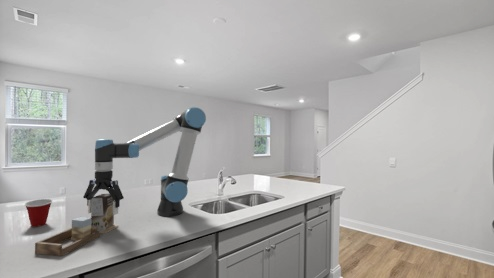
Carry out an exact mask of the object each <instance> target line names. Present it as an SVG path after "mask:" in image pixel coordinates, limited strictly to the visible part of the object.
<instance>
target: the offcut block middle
mask: <svg viewBox="0 0 494 278" xmlns="http://www.w3.org/2000/svg"><path fill="white" fill-rule="evenodd" d="M71 228H72V233H73V234H82V235H84V234H86V233H88V232H90V231H91V225H89V226H86V227H84V228H79V227H72V226H71Z"/></svg>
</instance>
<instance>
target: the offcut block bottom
mask: <svg viewBox="0 0 494 278" xmlns="http://www.w3.org/2000/svg"><path fill="white" fill-rule="evenodd" d="M90 234H91V231H90V232H88V233H86V234H84V235H82V234H73V233H72V238H70V240H71V241H74V242H76V241H78V240H80V239H82V238H84V237H86V236H88V235H90Z"/></svg>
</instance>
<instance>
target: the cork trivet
mask: <svg viewBox="0 0 494 278" xmlns="http://www.w3.org/2000/svg"><path fill="white" fill-rule="evenodd" d="M118 227H119V225H116V224H114V225H112V226H111V227H109V228H108V229H106V230H105V231H99V234H107V233H108V232H110V231H112V230H114V229H116V228H118Z"/></svg>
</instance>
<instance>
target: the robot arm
mask: <svg viewBox="0 0 494 278" xmlns="http://www.w3.org/2000/svg"><path fill="white" fill-rule="evenodd" d="M206 120H207V116H206V113H205V112H204V111H203V110H202V109H201V108H199V107H195V106H192V107H189V108H188V109H186V110H184V111H183V112H181V113H180V114H179V115H177V116H175V117H173V118H172V120H170V121H168V122H166V123H164V124H162V125H159V126H158V127H156V128H154V129H151V130H150V131H147V132H145V133H144V134H141V135H139V136H137V137H135V138H133V139H131V140H129V141H126V142H124V143H123V142H122V143H118V142H117V143H116V142H114V140H113V139H106V138H105V139H100V138H99V139H96V140H95V145H94V170H95V171H94V178H92V179H90V180H89V184H88V185H87V188H86V190H85V192H84V194H83V199H86V201H87V202H86V203H87V204H86V205H87V208H88V209H87V213H88V214H91V209H92V197H95V196H96V194H97V193H98V192H99V191H100V190H103V191H105V190H106V192H108V194H110V195H111V196H112V198H113V199H114V201H113V215H114V216H115V215H118V214H119V208H120V207H121V206H120V201H122V200H124V199H125V198H124V196H123V193H122V190H121V188H120V186H119V180H113V179H112V178H113V172H114V171H113V169H114V168H113V167H114V165H113V164H114V163H113V162H114V160H113V159H134V158H139V155H140V151H142V150H144V149H146V148H148V147H150V146H152V145H154V144H156V143H158V142H160V141H163V140H164V139H166V138H168V137H171V136H172V135H174V134H177V133H179V132H180V133H181V136H180V139H179V142H178V147H177V150H176V154H175V157H174V161H173V166H172V169H171V172H170V173H169V174H167V175H162V176H161V178H160V202H159V205H158V207H157V213H156V214H157V215H158V216H159V217H160V216H161V217H174V216H178V215H181V214H183V213H184V206H183V203H182V201H184V199H185V198H186V197H187V196H188V183H189V181H190V180H189V177H188V172H189V169H190V164H191V161H192V157H193V153H194V150H195V144H196V141H197V137H198V135H200V134H201V131H202V127H203V126H204V125H205V123H206Z"/></svg>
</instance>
